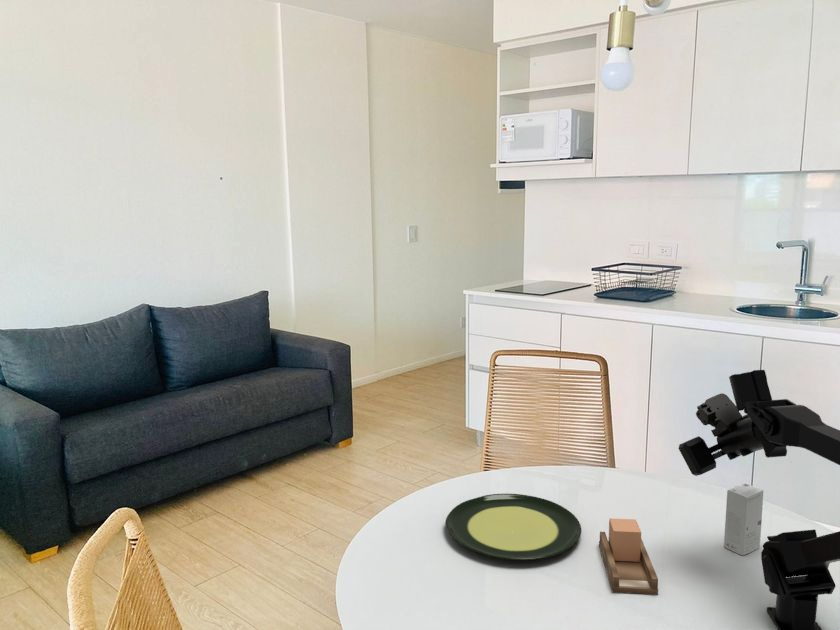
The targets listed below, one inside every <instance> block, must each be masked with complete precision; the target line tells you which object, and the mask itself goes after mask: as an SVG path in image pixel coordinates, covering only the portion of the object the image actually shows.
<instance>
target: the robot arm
mask: <svg viewBox="0 0 840 630" xmlns="http://www.w3.org/2000/svg"><path fill="white" fill-rule="evenodd" d="M728 379H729V383H730V386H731V390H732V391H731V392H732V394H733V398H734V402H735V403H734V402H733V401H732V400H731V398H730V397H729V396H728V395H727V394H725V393H723V392H722V393H721V392H720V393H718V394H715V395H713V396H712V397H709V398H707V399H705V401H704V402H703V403H701V404H700V405H697V406H696V408H697V410H696V412H695V416H696V418H697V419H698V420H699V421H700V423H701V424H703V426H708V425H710V426H711V427H713V429H711V433H712V435H713V437H715V438H716V444H714V445H712V446H708V445H707V443H706V440H705V439H704V438H702V437H701V436H699V435H698V436H696V437H693V438H690V439H689V440H687V441H684V442H681V443H680V444H679V445H678V450H679V452H680V454H681V456H682V457H683V460H684V461H685V463H686V465H687V468H688V469H689V471H690V473H691V474H692V475H693V476H696V477H698V476H701V475H704V474H706V473H707V472H710V471H712V470H714V469H716V468H717V462H716V461H717V460H716V459H718V458H721V457H723V456H727V458H728V460H729V461H731V460H734V459H736V458H738V457H741V456H742V457H746V456H749V455H750V454H753V453H755V452H758V451H762V450H763V451H764V455H765V457H766V458H781V457H786V456H787V454H788V449H787V447H795V448H801V449H805V450H807V451H809V452H811V453H813V454H816V455H817V456H819V457H822V458H824V459H825V460H828V461H829V462H832V463H834V464H835V465H836V464H837V465H839V466H840V429H837V428H835V427H833V426H830V425H828V424H826V423H824V422H823V420H822V418H821V416H820V415H819V414H818V413H816V412H815V411H814V410H812V409H811V408H809V407H808V406H805V405H803V404H796V403H795V402H793V401H791V400H790V399H788V398H784V399H782V398H781V399H773V398H772V394H771V391H770V387H769V383H768V377H767V374H766V370H765V369H754V370H751V371H747V372H742V373H735V374H731V375H730V376H729V377H728ZM740 411H743V412H744V415H742V414H741V412H740ZM766 539H767V540H766V541H765V542H763V544H762V548H763V549H762V551H761V554H760V556H761V557H760V558H761V564H762V572H763V578H764V579H763V580H764V584H765V585H766V586H767V587H769V589H768V591H769V592H770V593H771V594H774V595H776V600H775V606H773V607H771V606H767V607H766V612H767V614H768V615H769V617H770V618H771V619H772V621H773V623H774V625H775V626H776V627H777V629H778V630H823V629H822V628H821V626H820V625H819V623H818V622H817V613H818V612H817V610H818V601H819V600H818V599H819V596H820V595H821V596H822V595H832V594H833V592H834V590H835V588H836V583H835V581H834V578H833V576H832V574H831V572H830V570H829V566H830V565H831V564H832V563H836V562H840V531H835V532H832V533H828V534H824V535H819V536H818V535H817V530H816V529H805V530H796V531H786V532H781V533H779V534H777V535H768V536H767V538H766Z"/></svg>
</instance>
